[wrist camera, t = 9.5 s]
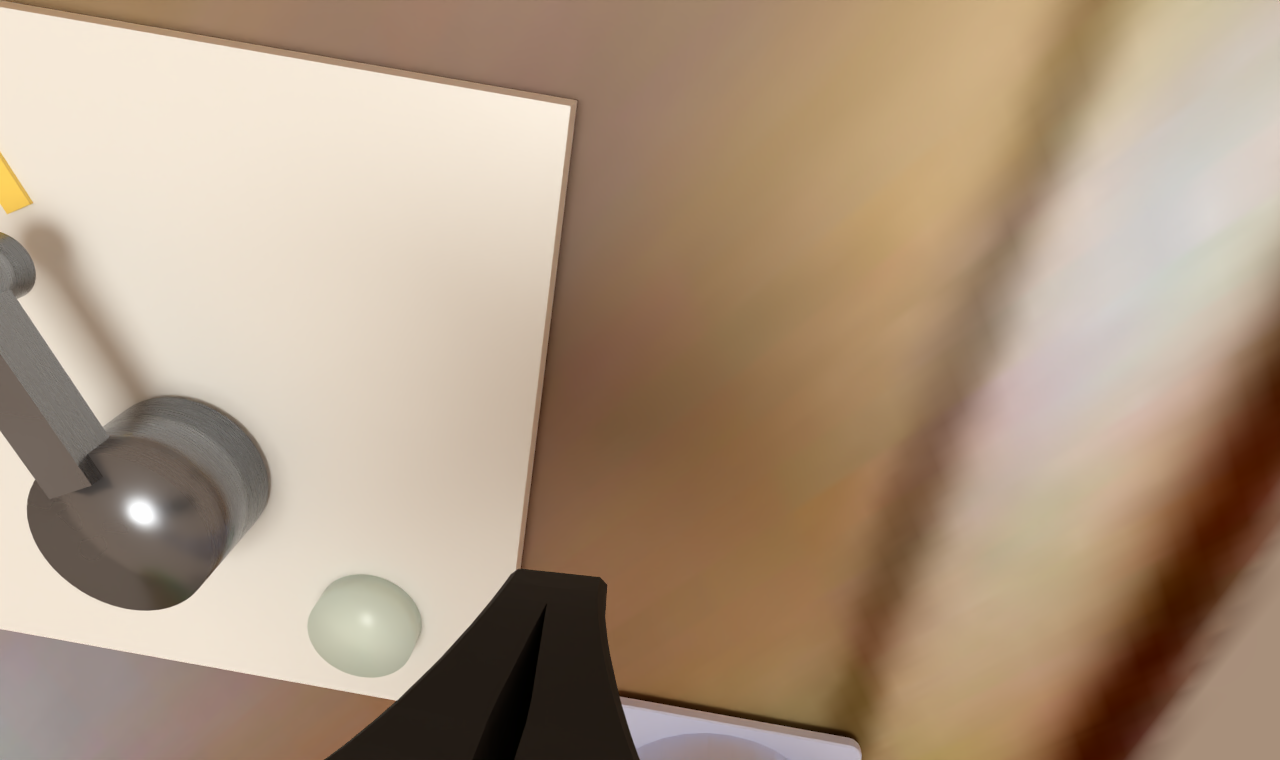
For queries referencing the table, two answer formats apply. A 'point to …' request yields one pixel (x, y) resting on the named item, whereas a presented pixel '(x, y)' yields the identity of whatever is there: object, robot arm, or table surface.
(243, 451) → the grey crank handle
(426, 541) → the white paper sheet
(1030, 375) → the table surface
